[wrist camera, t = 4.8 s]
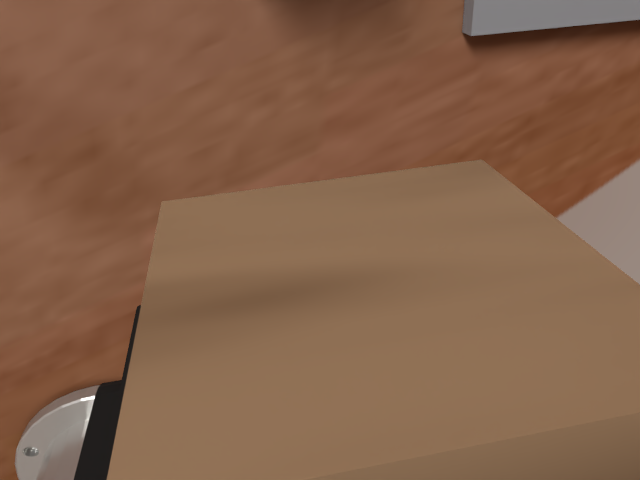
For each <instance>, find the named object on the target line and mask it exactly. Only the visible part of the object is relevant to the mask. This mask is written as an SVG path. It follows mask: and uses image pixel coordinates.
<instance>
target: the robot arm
mask: <svg viewBox="0 0 640 480" xmlns="http://www.w3.org/2000/svg"><path fill="white" fill-rule="evenodd" d="M140 309H141V305H139V306H138V307H137V310H136V314H135V319H134V324H133V329H132V333H131V338H130V343H129V348H128V353H127V358H126V362H125V367H124V372H123V377H122V380H120V381H114V382H108V383H102V384H101V385H97V386H92V387H89V388H85V389H81V390H78V391H74V392H72V393H70V394H67V395H65V396H63V397H61V398H58V399H56V400H55V401H53V402H52V403H50V404H49V405H47V406H46V407H44V408H43V409H41V410H40V411H39V412H38V413H37V414H36V415H35V416H34V417H33V418H32V420H31V421H30V422H29V424H28V425H27V427H26V429H25V430H24V432H23V434H22V436H21V439H20V442H19V444H18V447H17V450H16V457H15V467H16V472H17V476H18V479H19V480H107V476H108V471H109V466H110V461H111V455H112V450H113V445H114V440H115V435H116V430H117V425H118V420H119V415H120V410H121V405H122V400H123V395H124V390H125V385H126V380H127V374H128V369H129V364H130V359H131V354H132V349H133V344H134V339H135V334H136V329H137V324H138V319H139V314H140Z"/></svg>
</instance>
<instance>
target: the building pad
mask: <svg viewBox="0 0 640 480" xmlns="http://www.w3.org/2000/svg"><path fill="white" fill-rule="evenodd" d="M631 20H640V0H465V3H464V16H463V29H462V32H463V33H465V34H467V35H470V36H477V35H487V34H497V33H507V32H518V31H528V30H538V29H548V28H559V27H569V26H579V25H589V24H600V23H610V22H620V21H631Z"/></svg>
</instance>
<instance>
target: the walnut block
mask: <svg viewBox="0 0 640 480" xmlns="http://www.w3.org/2000/svg"><path fill="white" fill-rule="evenodd" d="M107 480H640V285H639V284H638V283H637V282H636V281H634V280H633V279H632V278H630V277H629V276H628V275H627V274H625V273H624V272H623V271H622V270H620V269H619V268H618V267H617V266H615V265H614V264H613V263H611V262H610V261H609V260H608V259H607V258H605V257H604V256H602V255H601V254H600V253H599V252H598V251H596V250H595V249H594V248H593V247H591V246H590V245H589V244H588V243H586V242H585V241H584V240H582V239H581V238H580V237H579V236H578V235H576V234H575V233H573V232H572V231H571V230H570V229H569V228H567V227H566V226H565V225H563V224H562V223H561V222H560V221H559V220H557V219H556V218H555V217H554V216H552V215H551V214H550V213H549V212H547V211H546V210H545V209H543V208H542V207H541V206H540V205H538V204H537V203H536V202H535V201H533V200H532V199H531V198H530V197H528V196H527V195H526V194H525V193H523V192H522V191H521V190H520V189H518V188H517V187H516V186H514V185H513V184H512V183H511V182H509V181H508V180H507V179H506V178H504V177H503V176H502V175H501V174H499V173H498V172H497V171H496V170H494V169H493V168H492V167H491V166H489V165H488V164H487V163H485V162H484V161H483V160H476V161H468V162H460V163H453V164H445V165H438V166H430V167H422V168H415V169H407V170H399V171H392V172H384V173H377V174H369V175H361V176H354V177H346V178H339V179H331V180H323V181H316V182H308V183H300V184H293V185H285V186H278V187H270V188H262V189H255V190H247V191H239V192H232V193H224V194H217V195H209V196H201V197H194V198H186V199H179V200H171V201H163V202H161V208H160V213H159V218H158V223H157V228H156V233H155V238H154V243H153V248H152V253H151V258H150V263H149V268H148V273H147V278H146V283H145V288H144V294H143V299H142V304H141V309H140V314H139V319H138V324H137V329H136V334H135V339H134V344H133V349H132V354H131V359H130V364H129V369H128V374H127V380H126V385H125V390H124V395H123V400H122V405H121V410H120V415H119V420H118V425H117V430H116V435H115V440H114V445H113V450H112V455H111V461H110V466H109V471H108V476H107Z"/></svg>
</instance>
